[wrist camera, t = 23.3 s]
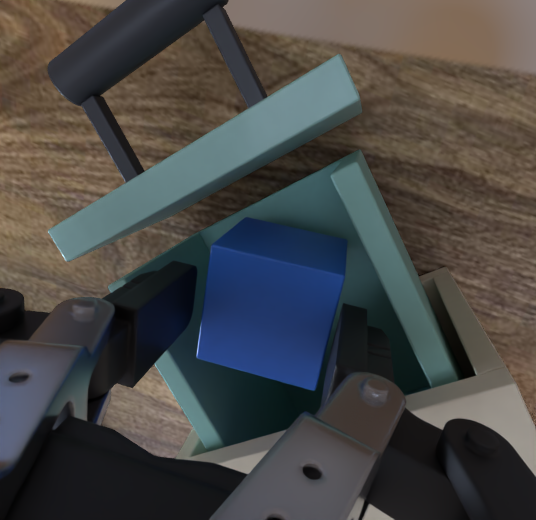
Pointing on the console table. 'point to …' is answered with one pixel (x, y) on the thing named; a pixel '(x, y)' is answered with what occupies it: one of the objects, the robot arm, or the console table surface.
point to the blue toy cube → (272, 300)
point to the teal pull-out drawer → (246, 212)
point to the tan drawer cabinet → (429, 390)
